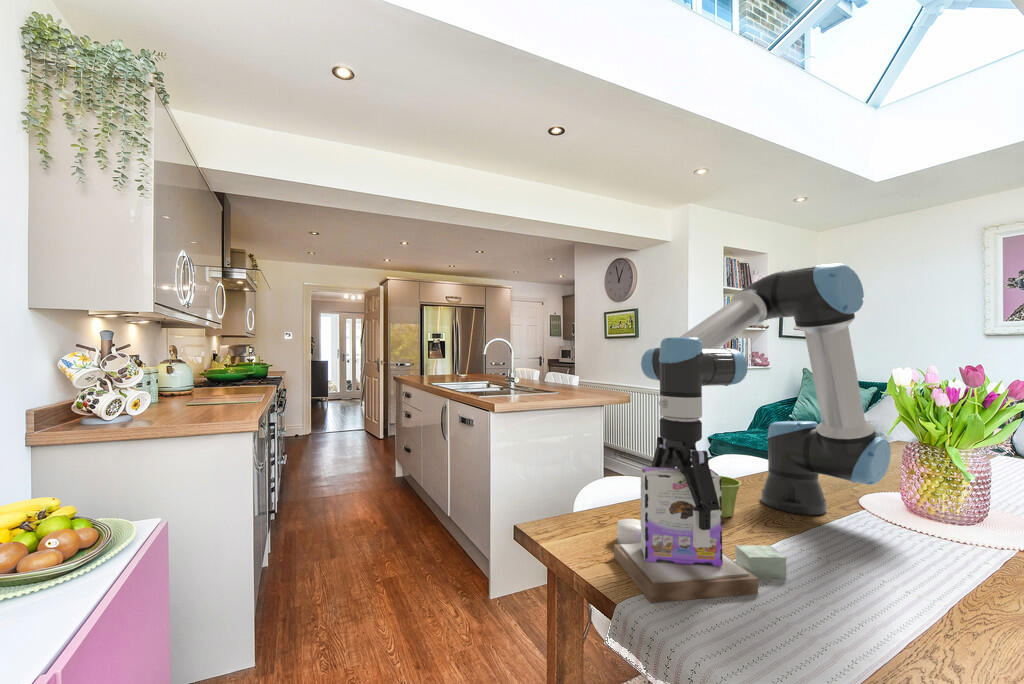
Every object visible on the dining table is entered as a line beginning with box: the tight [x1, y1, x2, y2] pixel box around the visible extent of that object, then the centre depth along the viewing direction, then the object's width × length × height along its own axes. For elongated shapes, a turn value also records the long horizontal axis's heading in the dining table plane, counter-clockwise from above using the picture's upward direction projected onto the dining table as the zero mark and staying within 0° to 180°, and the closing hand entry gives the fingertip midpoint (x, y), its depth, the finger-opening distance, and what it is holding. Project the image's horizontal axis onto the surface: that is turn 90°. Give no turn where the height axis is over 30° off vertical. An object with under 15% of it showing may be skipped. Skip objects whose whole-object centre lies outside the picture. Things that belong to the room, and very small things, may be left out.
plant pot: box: [719, 475, 742, 519], centre depth 112 cm, size 9×9×9 cm
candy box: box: [640, 466, 723, 566], centre depth 82 cm, size 14×6×16 cm, turn 82°
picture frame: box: [613, 543, 759, 604], centre depth 82 cm, size 20×16×3 cm
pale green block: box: [734, 544, 788, 579], centre depth 83 cm, size 7×5×4 cm
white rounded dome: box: [616, 518, 641, 544], centre depth 95 cm, size 7×7×4 cm
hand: (680, 530), depth 82 cm, fingers open, 13 cm apart
